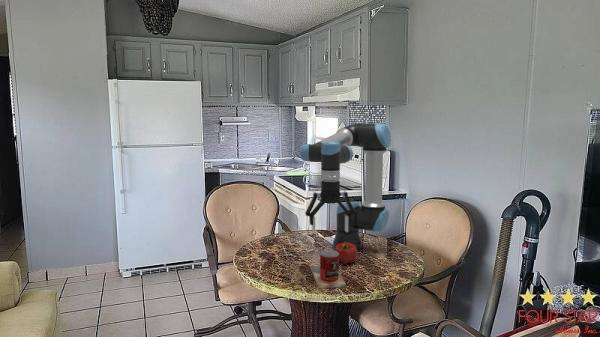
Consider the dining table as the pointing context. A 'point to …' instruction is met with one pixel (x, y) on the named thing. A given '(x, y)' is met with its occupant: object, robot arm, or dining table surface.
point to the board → (324, 284)
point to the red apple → (346, 252)
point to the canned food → (329, 265)
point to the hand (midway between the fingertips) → (330, 232)
